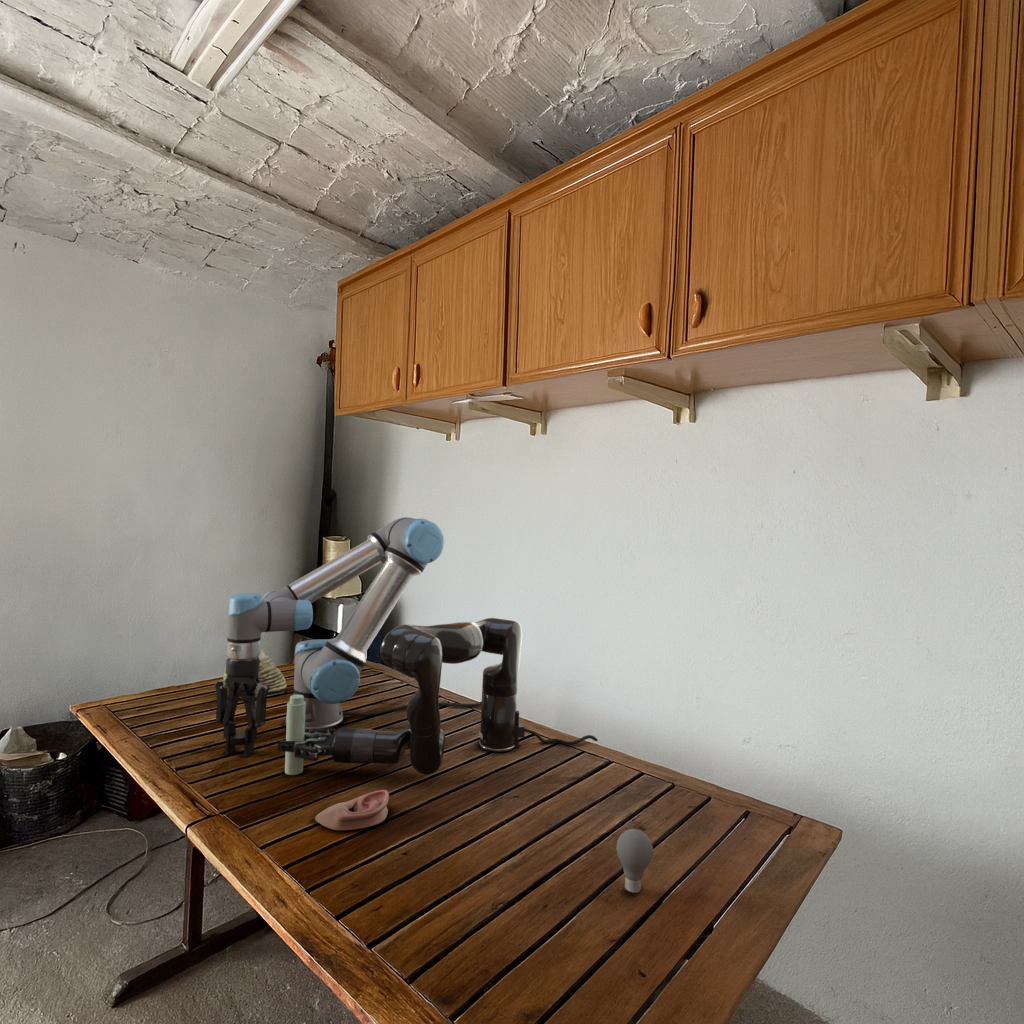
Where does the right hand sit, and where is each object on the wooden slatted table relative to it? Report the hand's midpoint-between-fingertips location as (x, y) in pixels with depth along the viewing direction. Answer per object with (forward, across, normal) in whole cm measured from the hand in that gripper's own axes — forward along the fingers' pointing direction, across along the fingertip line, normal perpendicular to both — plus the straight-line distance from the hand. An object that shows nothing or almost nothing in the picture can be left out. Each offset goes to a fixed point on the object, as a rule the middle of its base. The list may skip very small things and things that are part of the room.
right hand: (283, 741), depth 145 cm
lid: (+14, -8, +2) cm, 16 cm away
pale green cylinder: (-3, 0, +7) cm, 7 cm away
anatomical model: (-22, +19, +7) cm, 30 cm away
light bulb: (-74, +38, +7) cm, 83 cm away
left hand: (+14, -8, +7) cm, 17 cm away
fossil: (+29, -52, +7) cm, 60 cm away
